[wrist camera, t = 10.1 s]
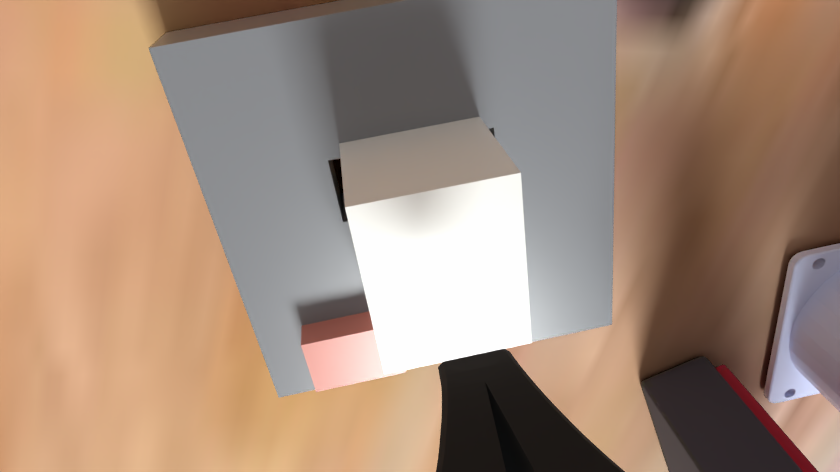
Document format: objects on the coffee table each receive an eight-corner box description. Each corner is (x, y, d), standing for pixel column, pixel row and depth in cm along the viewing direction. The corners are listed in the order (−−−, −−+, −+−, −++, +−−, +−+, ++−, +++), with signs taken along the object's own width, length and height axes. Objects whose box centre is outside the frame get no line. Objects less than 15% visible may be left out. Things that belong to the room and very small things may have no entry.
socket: (587, -46, 17) (635, -35, 15) (589, 292, 23) (624, 342, 21) (165, 32, 17) (138, 57, 14) (281, 359, 23) (277, 419, 20)
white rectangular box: (465, 98, 18) (520, 173, 13) (480, 236, 21) (532, 342, 16) (337, 122, 18) (344, 207, 13) (368, 259, 21) (384, 374, 16)
